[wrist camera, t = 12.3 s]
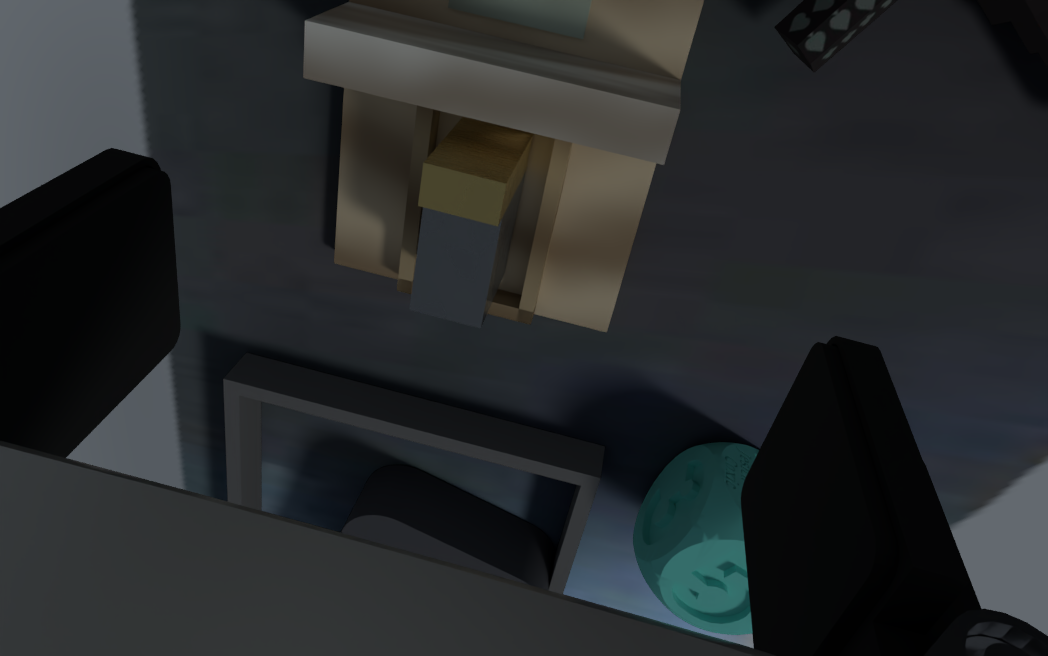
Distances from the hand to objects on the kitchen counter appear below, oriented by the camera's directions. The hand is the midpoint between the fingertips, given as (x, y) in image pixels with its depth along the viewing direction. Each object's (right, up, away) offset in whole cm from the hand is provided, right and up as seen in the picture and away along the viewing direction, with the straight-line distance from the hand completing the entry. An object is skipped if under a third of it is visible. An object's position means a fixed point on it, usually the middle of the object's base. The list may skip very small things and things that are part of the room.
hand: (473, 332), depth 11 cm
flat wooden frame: (0, +13, +26) cm, 29 cm away
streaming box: (-6, -17, +46) cm, 50 cm away
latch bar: (-1, +6, +30) cm, 30 cm away
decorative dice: (+14, -10, +38) cm, 42 cm away
